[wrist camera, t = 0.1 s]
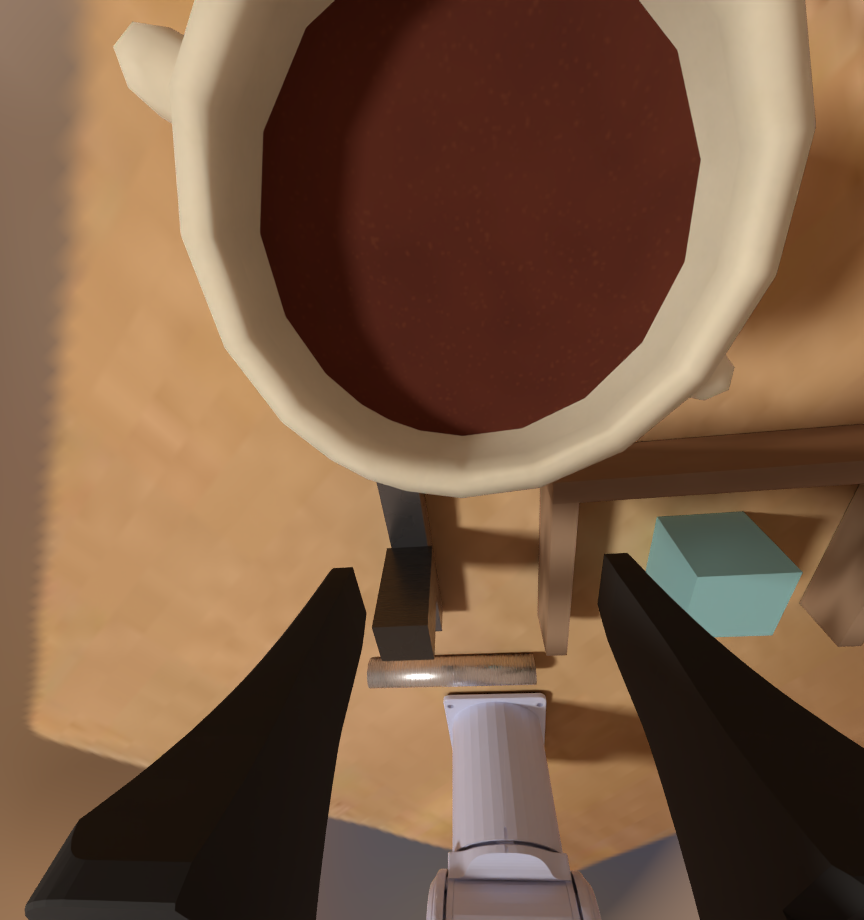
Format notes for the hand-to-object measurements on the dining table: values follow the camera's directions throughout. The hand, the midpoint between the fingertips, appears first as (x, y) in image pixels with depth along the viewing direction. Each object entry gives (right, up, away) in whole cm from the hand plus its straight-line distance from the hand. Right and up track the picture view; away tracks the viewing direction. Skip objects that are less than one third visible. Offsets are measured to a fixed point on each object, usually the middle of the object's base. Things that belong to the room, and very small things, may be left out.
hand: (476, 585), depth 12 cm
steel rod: (0, -11, +19) cm, 22 cm away
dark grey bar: (-2, -1, +13) cm, 13 cm away
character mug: (0, +13, +4) cm, 13 cm away
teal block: (+14, -1, +12) cm, 18 cm away
